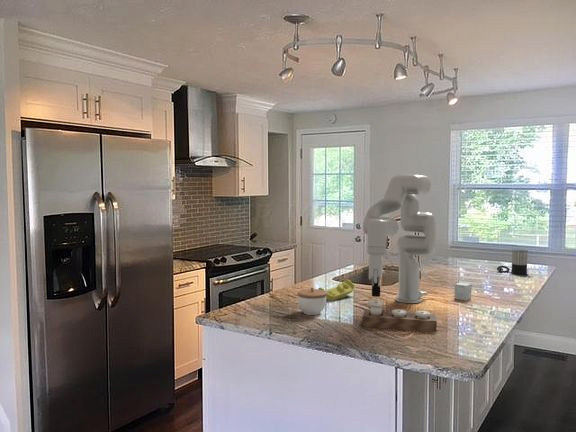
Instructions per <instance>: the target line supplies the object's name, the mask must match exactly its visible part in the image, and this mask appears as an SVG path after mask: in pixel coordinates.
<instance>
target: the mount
mask: <svg viewBox="0 0 576 432" xmlns="http://www.w3.org/2000/svg"><path fill="white" fill-rule="evenodd" d="M361 317H362V318H361V319H362V321H361V323H362V325H361V326H362V327H365V328H381V329H395V330H408V331H409V330H410V331H411V330H412V331H421V332H423V331H424V332H426V331H427V332H437V325H438V323H437V322H438V320H437V316H436V313H430V317H429V319H421V318H417V316H415V312H407V311H406V315H405V317H393V315H392V310H391V311H387V310H382V316H373V315H370V309H364V310H363V313H362V316H361Z"/></svg>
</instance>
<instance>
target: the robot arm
mask: <svg viewBox="0 0 576 432" xmlns="http://www.w3.org/2000/svg"><path fill="white" fill-rule="evenodd" d="M431 182H432V181H431V179H430V178H429V176H427V175H421V174H420V175H419V174H398V175H397V174H396V175H394V176H393V177H391V179H390V180H389V182H388V185H387V188H386V191H385V193H384V195H383V198H381V199H380V200H378V201H377V202H376V203H374V204H373V205H372V206H370V207H369V208H368V209H367V212H366V214H365V217H364V219H363V222H362V231H363V233H364V234H366V240H367V241H366V245H367V246H366V247H367V248H366V254H367V255H369V258H368V280H369V281H370V280H372V286H371V296H372V297H376V298H380V297H381V281H380V280H382V277H383V271H384V256H385V255H387V237H394V236H395V235H397V233H398V231H399V223H398V221H397V220H396V219H395V218H392V217H391V218H390V217H382V216H384V215H386V214H390V213H394V212H396V211H399V210H400V228H401V230H402V231H403V232H407V233H419V234H420V233H421V234H422V235H421V234H420V235H419V234H402V235H401V236H399V237H398V238H397V241H396V247H397V253H398V294H397V296H395V297H394V301H396V302H399V303H403V304H419V303H420V304H421V303H422V302H423V298H422V297H423V296H425V297H426V296H428V292H427V291H421V290H420V263H419V260H418V259H417V257H416V256H421V257H431V256H432V257H433V255H434V254H435V251H436V231H437V230H436V228H437V227H436V218H435V216H434V214H433V213H431V212H424V211H423V212H422V211H420V201H419V199H418V197H417V195H423V196H424V195H427V194H428V193H430V191H431V187H432V184H431Z"/></svg>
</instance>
